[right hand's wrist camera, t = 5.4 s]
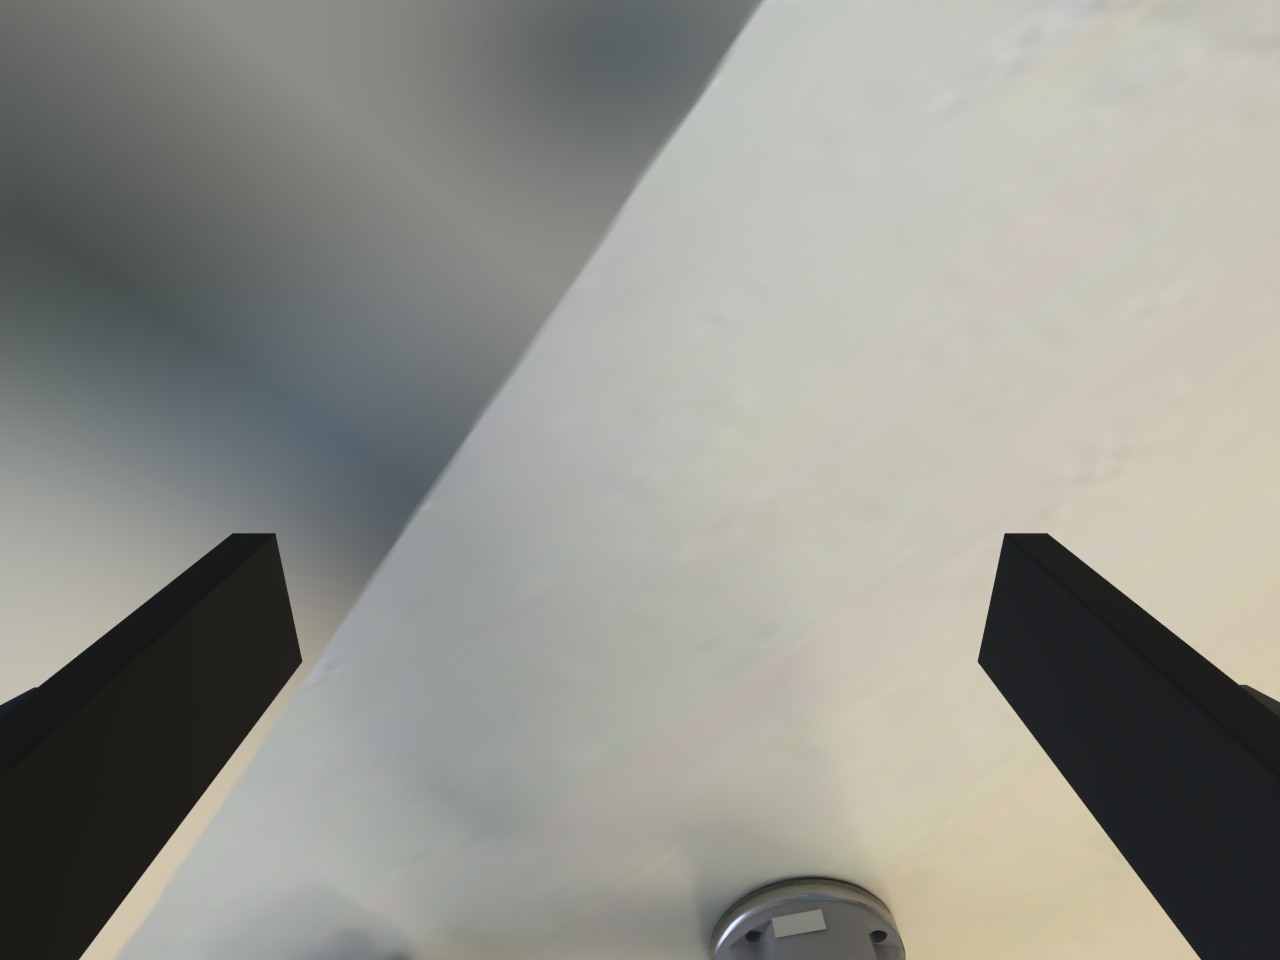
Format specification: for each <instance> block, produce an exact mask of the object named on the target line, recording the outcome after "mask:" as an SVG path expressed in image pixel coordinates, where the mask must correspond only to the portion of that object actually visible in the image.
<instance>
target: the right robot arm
mask: <svg viewBox="0 0 1280 960" xmlns="http://www.w3.org/2000/svg"><path fill="white" fill-rule="evenodd" d="M301 663H302V658H301V653H300V648H299V644H298V639H297V634H296V629H295V625H294V620H293V615H292V611H291V606H290V601H289V596H288V592H287V587H286V582H285V577H284V573H283V568H282V563H281V558H280V553H279V549H278V544H277V539H276V535H275V533H233V534H231V535H230V536H229V537H228V538H226V539H225V540H224V541H223V542H221V543H220V544H219V545H217V546H216V547H215V548H214V549H212V550H211V551H210V552H209V553H207V554H206V555H205V556H204V557H202V558H201V559H200V560H198V561H197V562H196V563H195V564H193V565H192V566H191V567H190V568H188V569H187V570H186V571H185V572H183V573H182V574H181V575H180V576H178V577H177V578H176V579H174V580H173V581H172V582H171V583H169V584H168V585H167V586H166V587H164V588H163V589H162V590H161V591H159V592H158V593H157V594H155V595H154V596H153V597H152V598H150V599H149V600H148V601H147V602H145V603H144V604H143V605H142V606H140V607H139V608H138V609H137V610H135V611H134V612H133V613H131V614H130V615H129V616H128V617H126V618H125V619H124V620H123V621H121V622H120V623H119V624H118V625H116V626H115V627H114V628H112V629H111V630H110V631H109V632H107V633H106V634H105V635H104V636H102V637H101V638H100V639H99V640H97V641H96V642H95V643H94V644H92V645H91V646H90V647H88V648H87V649H86V650H85V651H83V652H82V653H81V654H80V655H78V656H77V657H76V658H75V659H73V660H72V661H71V662H70V663H68V664H67V665H66V666H64V667H63V668H62V669H61V670H59V671H58V672H57V673H56V674H54V675H53V676H52V677H50V678H49V679H48V680H47V681H45V682H44V683H43V684H42V685H40V686H39V687H35V688H32V689H30V690H29V691H27V692H25V693H23V694H21V695H19V696H17V697H15V698H13V699H12V700H10V701H8V702H6V703H4V704H2V705H0V960H79V959H80V958H81V956H82V955H83V953H84V952H85V951H86V949H87V948H88V947H89V945H90V944H91V943H92V942H93V940H94V939H95V938H96V936H97V935H98V934H99V932H100V931H101V929H102V928H103V927H104V925H105V924H106V923H107V921H108V920H109V919H110V918H111V916H112V915H113V914H114V912H115V911H116V909H117V908H118V907H119V905H120V904H121V903H122V902H123V900H124V899H125V897H126V896H127V895H128V893H129V892H130V891H131V889H132V888H133V887H134V885H135V884H136V883H137V881H138V880H139V879H140V877H141V876H142V875H143V873H144V872H145V871H146V869H147V868H148V867H149V865H150V864H151V863H152V861H153V860H154V859H155V857H156V856H157V855H158V853H159V852H160V851H161V849H162V848H163V847H164V845H165V844H166V843H167V841H168V840H169V839H170V837H171V836H172V835H173V833H174V832H175V831H176V829H177V828H178V827H179V825H180V824H181V823H182V821H183V820H184V819H185V817H186V816H187V815H188V813H189V812H190V811H191V809H192V808H193V807H194V805H195V804H196V803H197V801H198V800H199V799H200V797H201V796H202V795H203V793H204V792H205V791H206V789H207V788H208V787H209V785H210V784H211V783H212V781H213V780H214V779H215V777H216V776H217V775H218V773H219V772H220V771H221V769H222V768H223V767H224V765H225V764H226V763H227V761H228V760H229V759H230V757H231V756H232V755H233V753H234V752H235V751H236V749H237V748H238V747H239V745H240V744H241V743H242V741H243V740H244V739H245V737H246V736H247V735H248V733H249V732H250V731H251V729H252V728H253V727H254V725H255V724H256V723H257V721H258V720H259V719H260V717H261V716H262V715H263V713H264V712H265V711H266V709H267V708H268V707H269V705H270V704H271V703H272V701H273V700H274V699H275V697H276V696H277V695H278V693H279V692H280V691H281V689H282V688H283V687H284V685H285V684H286V683H287V681H288V680H289V679H290V677H291V676H292V675H293V673H294V672H295V671H296V669H297V668H298V667H299V665H300V664H301ZM978 663H979V664H980V665H981V667H982V668H983V669H984V671H985V672H986V673H987V675H988V676H989V677H990V679H991V680H992V681H993V683H994V684H995V685H996V687H997V688H998V689H999V691H1000V692H1001V693H1002V695H1003V696H1004V697H1005V699H1006V700H1007V701H1008V703H1009V704H1010V705H1011V707H1012V708H1013V709H1014V711H1015V712H1016V713H1017V715H1018V716H1019V717H1020V719H1021V720H1022V721H1023V723H1024V724H1025V725H1026V727H1027V728H1028V729H1029V731H1030V732H1031V733H1032V735H1033V736H1034V737H1035V739H1036V740H1037V741H1038V743H1039V744H1040V745H1041V747H1042V748H1043V749H1044V751H1045V752H1046V753H1047V755H1048V756H1049V757H1050V759H1051V760H1052V761H1053V763H1054V764H1055V765H1056V767H1057V768H1058V769H1059V771H1060V772H1061V773H1062V775H1063V776H1064V777H1065V779H1066V780H1067V781H1068V783H1069V784H1070V785H1071V787H1072V788H1073V789H1074V791H1075V792H1076V793H1077V795H1078V796H1079V797H1080V799H1081V800H1082V801H1083V803H1084V804H1085V805H1086V807H1087V808H1088V809H1089V811H1090V812H1091V813H1092V815H1093V816H1094V817H1095V819H1096V820H1097V821H1098V823H1099V824H1100V825H1101V827H1102V828H1103V829H1104V831H1105V832H1106V833H1107V835H1108V836H1109V837H1110V839H1111V840H1112V841H1113V843H1114V844H1115V845H1116V847H1117V848H1118V849H1119V851H1120V852H1121V853H1122V855H1123V856H1124V857H1125V859H1126V860H1127V861H1128V863H1129V864H1130V865H1131V867H1132V868H1133V869H1134V871H1135V872H1136V873H1137V875H1138V876H1139V877H1140V879H1141V880H1142V881H1143V883H1144V884H1145V885H1146V887H1147V888H1148V889H1149V891H1150V892H1151V894H1152V895H1153V896H1154V898H1155V899H1156V900H1157V902H1158V903H1159V904H1160V906H1161V907H1162V908H1163V910H1164V911H1165V912H1166V914H1167V915H1168V916H1169V918H1170V919H1171V920H1172V922H1173V923H1174V924H1175V926H1176V927H1177V928H1178V930H1179V931H1180V932H1181V934H1182V935H1183V936H1184V938H1185V939H1186V940H1187V942H1188V943H1189V944H1190V946H1191V947H1192V948H1193V950H1194V951H1195V952H1196V954H1197V955H1198V956H1199V958H1200V959H1201V960H1280V702H1278V701H1276V700H1274V699H1272V698H1270V697H1269V696H1267V695H1265V694H1263V693H1261V692H1259V691H1257V690H1255V689H1253V688H1251V687H1249V686H1248V685H1238V684H1237V683H1236V682H1235V681H1233V680H1232V679H1231V678H1230V677H1228V676H1227V675H1226V674H1224V673H1223V672H1222V671H1221V670H1219V669H1218V668H1217V667H1216V666H1214V665H1213V664H1212V663H1211V662H1209V661H1208V660H1207V659H1205V658H1204V657H1203V656H1202V655H1200V654H1199V653H1198V652H1197V651H1195V650H1194V649H1193V648H1192V647H1190V646H1189V645H1188V644H1187V643H1185V642H1184V641H1183V640H1181V639H1180V638H1179V637H1178V636H1176V635H1175V634H1174V633H1173V632H1171V631H1170V630H1169V629H1168V628H1166V627H1165V626H1164V625H1162V624H1161V623H1160V622H1159V621H1157V620H1156V619H1155V618H1154V617H1152V616H1151V615H1150V614H1149V613H1147V612H1146V611H1145V610H1144V609H1142V608H1141V607H1140V606H1138V605H1137V604H1136V603H1135V602H1133V601H1132V600H1131V599H1130V598H1128V597H1127V596H1126V595H1125V594H1123V593H1122V592H1121V591H1119V590H1118V589H1117V588H1116V587H1114V586H1113V585H1112V584H1111V583H1109V582H1108V581H1107V580H1106V579H1104V578H1103V577H1102V576H1101V575H1099V574H1098V573H1097V572H1095V571H1094V570H1093V569H1092V568H1090V567H1089V566H1088V565H1087V564H1085V563H1084V562H1083V561H1082V560H1080V559H1079V558H1078V557H1076V556H1075V555H1074V554H1073V553H1071V552H1070V551H1069V550H1068V549H1066V548H1065V547H1064V546H1063V545H1061V544H1060V543H1059V542H1057V541H1056V540H1055V539H1054V538H1052V537H1051V536H1050V535H1049V534H1047V533H1005V534H1004V539H1003V544H1002V549H1001V553H1000V558H999V563H998V568H997V572H996V577H995V582H994V587H993V591H992V596H991V601H990V606H989V610H988V615H987V620H986V625H985V629H984V634H983V639H982V644H981V648H980V653H979V658H978ZM710 956H711V960H906V959H905V950H904V946H903V943H902V940H901V937H900V934H899V932H898V929H897V926H896V923H895V921H894V919H893V917H892V915H891V913H890V912H889V910H888V909H887V908H886V907H885V906H884V905H883V904H882V903H881V902H880V901H879V900H878V899H877V898H875V897H874V896H873V895H871V894H869V893H868V892H866V891H864V890H862V889H860V888H857V887H855V886H852V885H849V884H846V883H842V882H837V881H832V880H823V879H801V880H792V881H786V882H782V883H778V884H774V885H771V886H768V887H765V888H762V889H760V890H757V891H755V892H753V893H751V894H749V895H748V896H746V897H744V898H743V899H741V900H740V901H738V902H737V903H736V904H734V905H733V906H732V907H731V908H730V909H729V910H728V911H727V912H726V913H725V914H724V915H723V916H722V918H721V919H720V921H719V922H718V924H717V926H716V927H715V929H714V932H713V934H712V938H711V944H710Z"/></svg>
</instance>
